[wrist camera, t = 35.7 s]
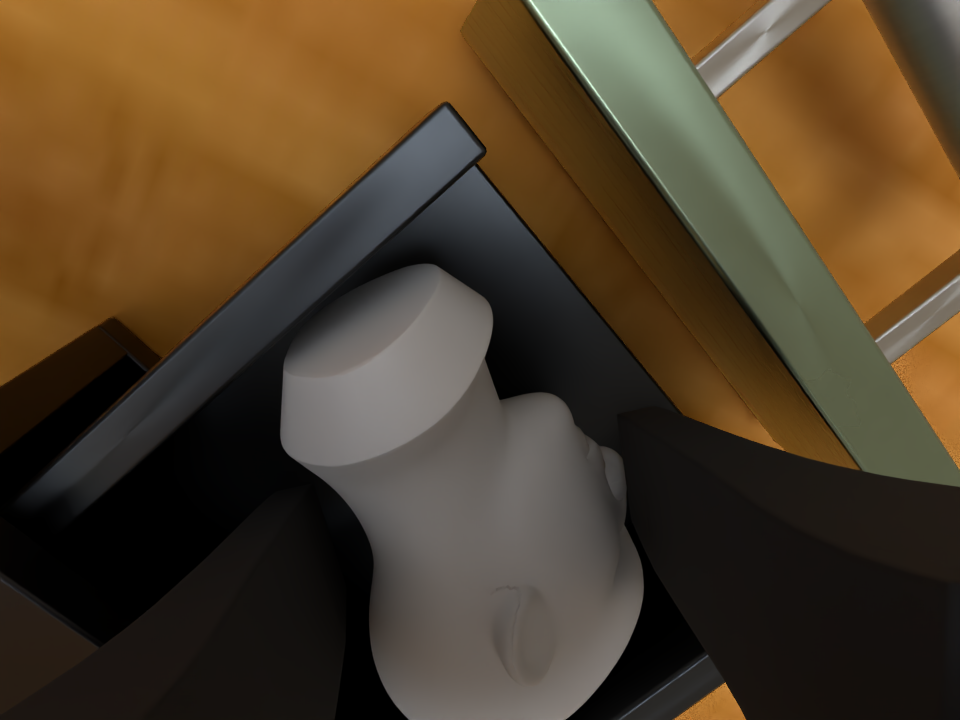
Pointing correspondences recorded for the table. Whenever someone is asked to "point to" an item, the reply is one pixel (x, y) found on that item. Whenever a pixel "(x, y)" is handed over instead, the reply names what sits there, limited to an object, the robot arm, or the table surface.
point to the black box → (19, 559)
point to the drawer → (533, 314)
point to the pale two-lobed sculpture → (463, 505)
